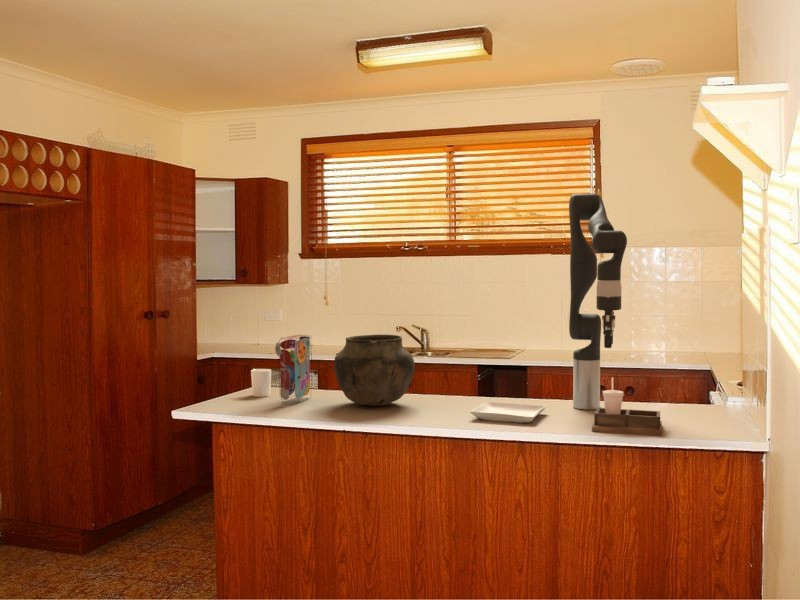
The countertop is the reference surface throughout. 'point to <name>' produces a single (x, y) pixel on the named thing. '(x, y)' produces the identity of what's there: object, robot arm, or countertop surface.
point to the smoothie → (613, 400)
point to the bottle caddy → (628, 422)
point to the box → (299, 375)
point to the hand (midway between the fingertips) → (608, 346)
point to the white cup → (261, 382)
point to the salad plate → (507, 412)
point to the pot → (374, 369)
